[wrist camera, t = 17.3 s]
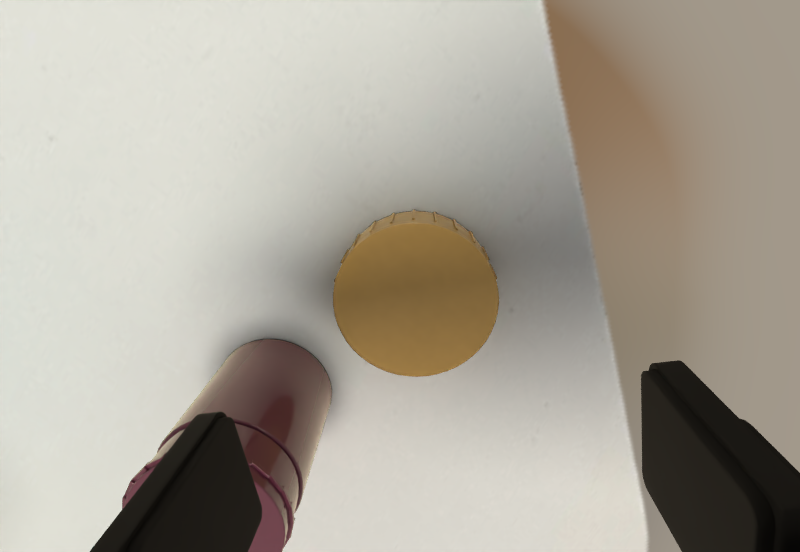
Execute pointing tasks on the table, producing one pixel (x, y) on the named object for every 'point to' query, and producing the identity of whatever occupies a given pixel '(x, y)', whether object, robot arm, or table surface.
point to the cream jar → (265, 427)
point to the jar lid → (416, 294)
